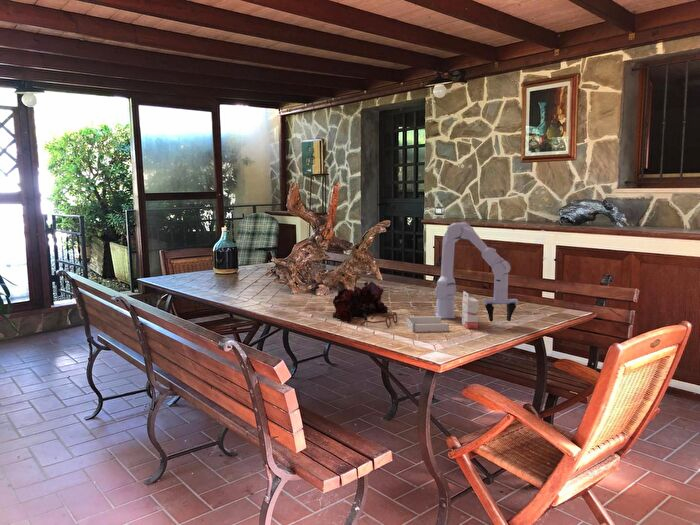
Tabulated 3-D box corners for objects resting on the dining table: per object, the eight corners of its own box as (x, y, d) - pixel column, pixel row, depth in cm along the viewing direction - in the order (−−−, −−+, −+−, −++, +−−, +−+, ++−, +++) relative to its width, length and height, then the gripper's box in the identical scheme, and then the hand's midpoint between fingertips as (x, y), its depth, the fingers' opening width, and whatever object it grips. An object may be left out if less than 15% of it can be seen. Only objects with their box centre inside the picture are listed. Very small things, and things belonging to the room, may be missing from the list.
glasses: (387, 329, 230) (387, 317, 229) (359, 326, 235) (359, 314, 234) (398, 322, 241) (398, 311, 241) (370, 319, 247) (370, 308, 246)
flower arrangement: (355, 324, 237) (355, 290, 235) (321, 317, 249) (320, 285, 247) (394, 311, 261) (395, 280, 259) (362, 306, 274) (362, 276, 272)
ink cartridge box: (478, 328, 228) (479, 294, 226) (467, 328, 227) (467, 294, 225) (472, 323, 236) (473, 290, 234) (461, 324, 236) (462, 290, 234)
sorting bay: (406, 323, 236) (406, 316, 236) (440, 322, 238) (440, 315, 237) (412, 332, 223) (413, 323, 222) (448, 331, 224) (449, 323, 223)
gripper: (487, 291, 226) (486, 323, 228) (521, 290, 227) (520, 322, 229) (481, 288, 233) (481, 319, 235) (514, 287, 234) (513, 318, 236)
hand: (499, 320), depth 232 cm, fingers open, 7 cm apart
